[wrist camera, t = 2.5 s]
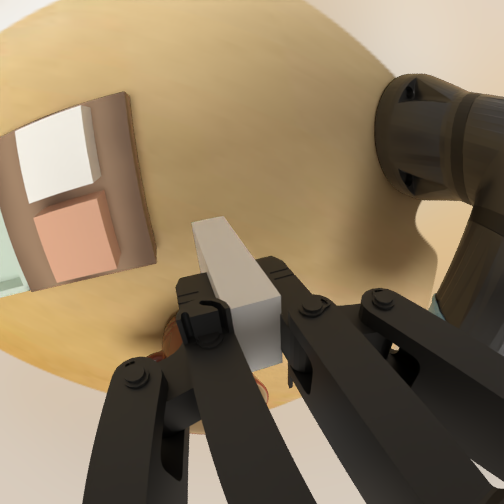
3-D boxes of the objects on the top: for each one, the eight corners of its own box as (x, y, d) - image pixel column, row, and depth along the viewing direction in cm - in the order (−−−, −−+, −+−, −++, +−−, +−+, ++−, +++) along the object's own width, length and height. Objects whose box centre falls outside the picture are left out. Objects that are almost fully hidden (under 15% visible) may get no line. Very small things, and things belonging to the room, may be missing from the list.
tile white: (90, 107, 14) (80, 105, 12) (101, 176, 17) (93, 183, 15) (30, 129, 13) (14, 131, 11) (42, 194, 16) (29, 203, 14)
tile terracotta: (104, 189, 17) (96, 198, 15) (121, 253, 20) (117, 268, 17) (45, 207, 16) (33, 217, 14) (65, 266, 18) (57, 282, 16)
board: (129, 96, 17) (124, 91, 15) (156, 247, 23) (156, 263, 21) (4, 140, 15) (-14, 144, 12) (41, 275, 21) (31, 292, 18)
